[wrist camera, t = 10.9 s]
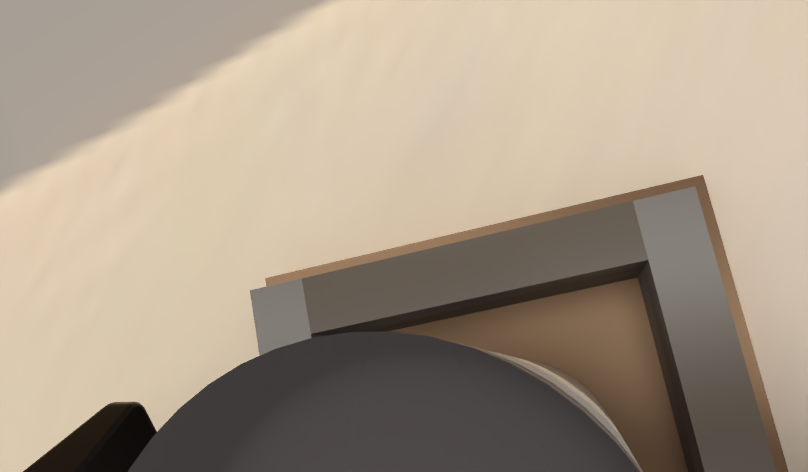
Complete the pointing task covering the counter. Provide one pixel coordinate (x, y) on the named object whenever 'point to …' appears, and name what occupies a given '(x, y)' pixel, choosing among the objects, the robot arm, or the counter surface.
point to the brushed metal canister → (389, 413)
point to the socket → (573, 316)
